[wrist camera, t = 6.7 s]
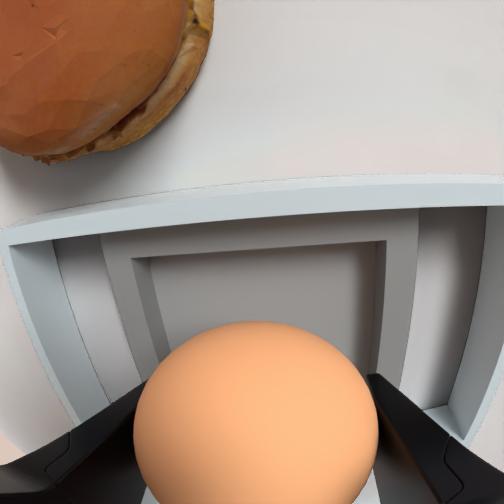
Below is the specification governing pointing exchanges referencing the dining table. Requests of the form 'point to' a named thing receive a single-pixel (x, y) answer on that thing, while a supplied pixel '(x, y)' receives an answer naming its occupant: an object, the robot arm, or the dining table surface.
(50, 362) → the two compartment tray
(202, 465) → the ball
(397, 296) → the square tray
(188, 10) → the burger
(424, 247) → the dining table surface
